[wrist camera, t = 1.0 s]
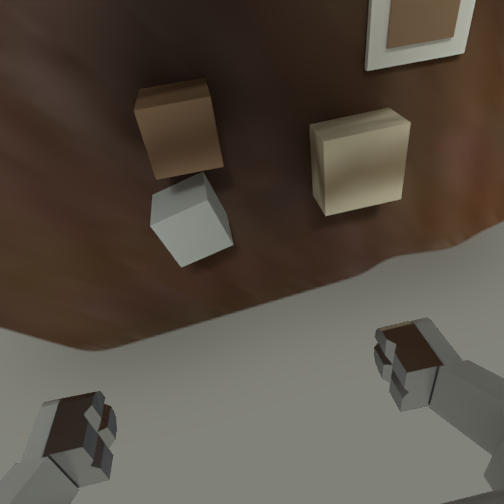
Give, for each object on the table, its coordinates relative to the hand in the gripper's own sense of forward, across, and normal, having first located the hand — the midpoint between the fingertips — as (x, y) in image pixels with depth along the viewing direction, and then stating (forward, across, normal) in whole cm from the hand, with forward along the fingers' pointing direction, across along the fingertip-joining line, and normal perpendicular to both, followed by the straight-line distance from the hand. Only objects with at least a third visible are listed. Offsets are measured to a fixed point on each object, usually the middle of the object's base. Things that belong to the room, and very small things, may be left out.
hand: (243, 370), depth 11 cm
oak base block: (+24, -12, +5) cm, 28 cm away
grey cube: (+24, +3, +6) cm, 25 cm away
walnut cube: (+24, +2, -2) cm, 24 cm away
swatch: (+23, -18, -6) cm, 30 cm away
